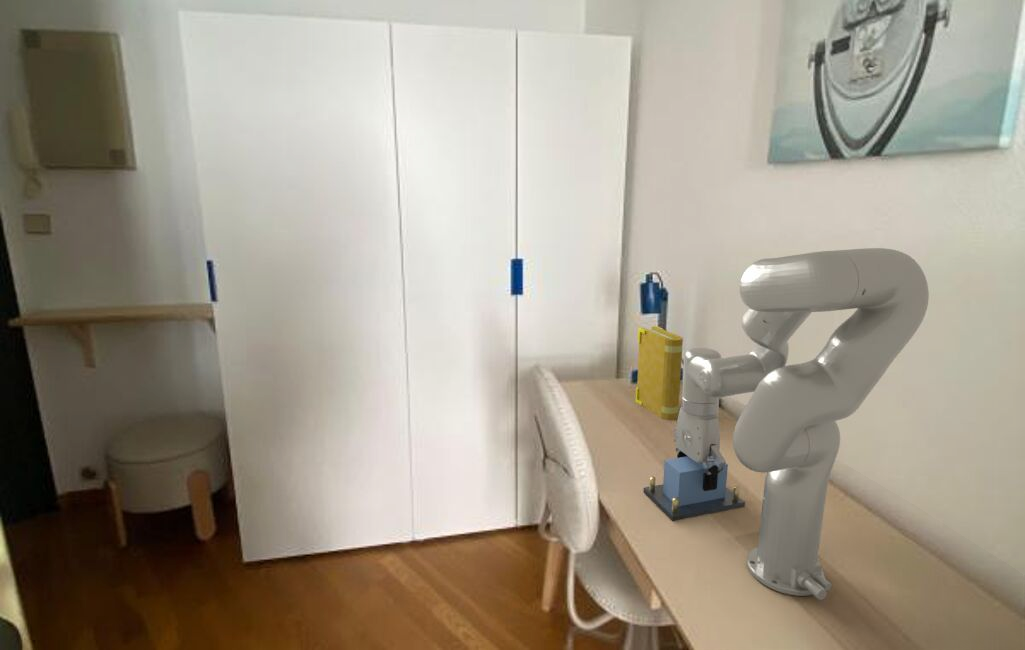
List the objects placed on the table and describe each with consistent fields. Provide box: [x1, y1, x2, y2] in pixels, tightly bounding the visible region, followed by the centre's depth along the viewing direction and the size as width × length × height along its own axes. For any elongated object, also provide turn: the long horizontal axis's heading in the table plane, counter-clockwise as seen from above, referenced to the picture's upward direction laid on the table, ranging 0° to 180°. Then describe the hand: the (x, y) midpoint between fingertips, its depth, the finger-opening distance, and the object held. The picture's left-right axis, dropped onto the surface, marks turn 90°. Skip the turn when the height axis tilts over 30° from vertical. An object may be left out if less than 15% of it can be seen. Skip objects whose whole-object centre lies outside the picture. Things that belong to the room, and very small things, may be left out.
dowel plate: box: [643, 476, 746, 522], centre depth 123 cm, size 12×18×4 cm, turn 106°
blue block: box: [662, 456, 729, 506], centre depth 122 cm, size 12×6×8 cm, turn 106°
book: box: [634, 326, 684, 421], centre depth 171 cm, size 17×7×25 cm, turn 17°
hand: (696, 479), depth 121 cm, fingers open, 9 cm apart
